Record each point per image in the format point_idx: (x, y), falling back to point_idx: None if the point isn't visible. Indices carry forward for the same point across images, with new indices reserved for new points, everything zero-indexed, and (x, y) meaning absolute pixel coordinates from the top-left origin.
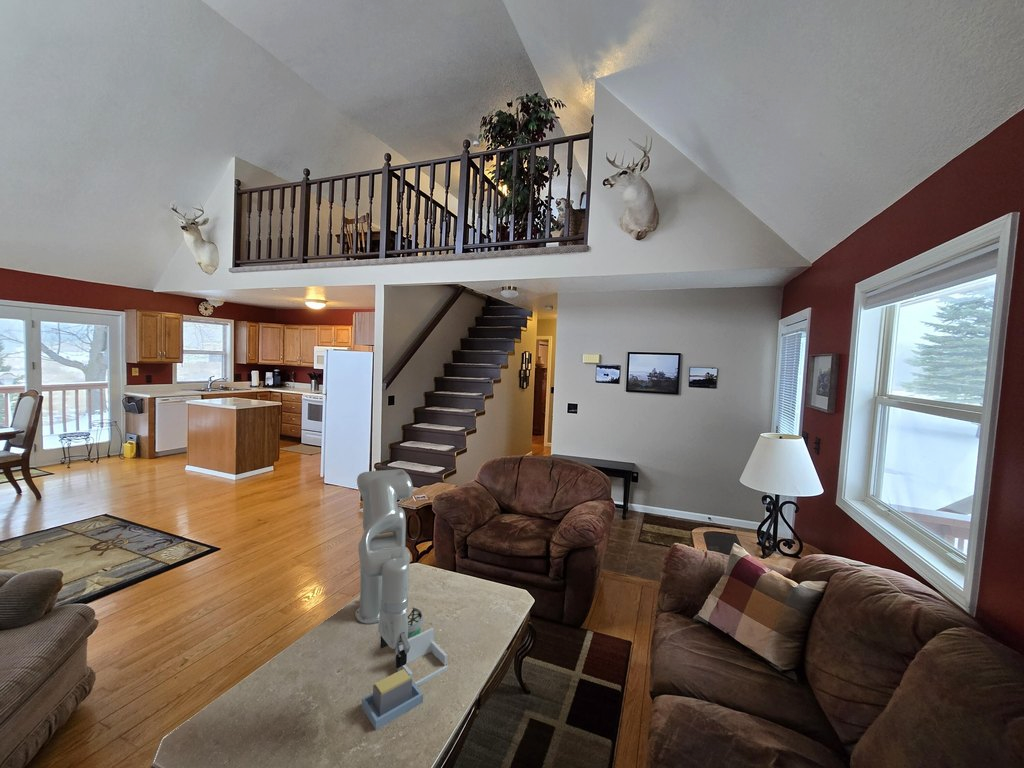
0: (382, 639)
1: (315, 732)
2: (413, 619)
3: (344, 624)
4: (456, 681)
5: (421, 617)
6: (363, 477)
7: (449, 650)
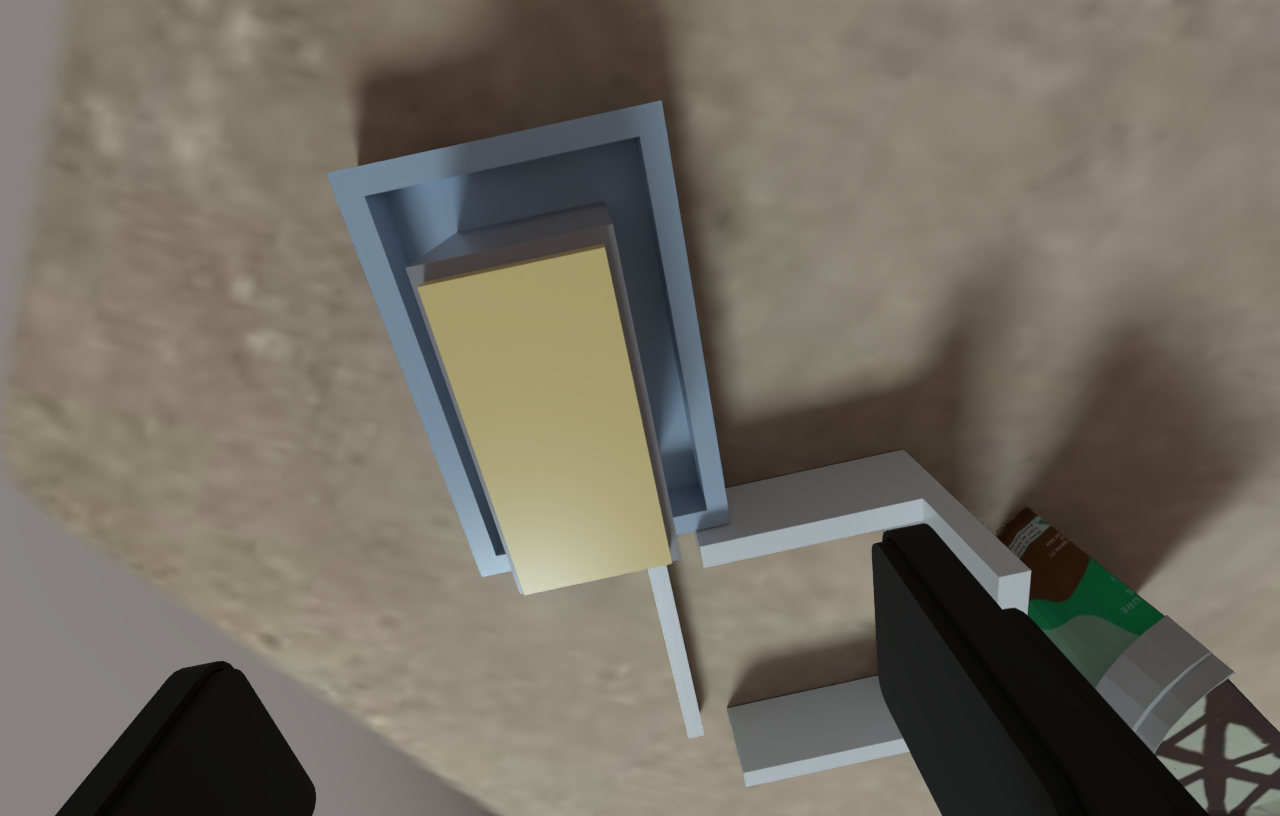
0: (1008, 743)
1: None
2: (1212, 774)
3: None
4: (571, 732)
5: None
6: None
7: None
